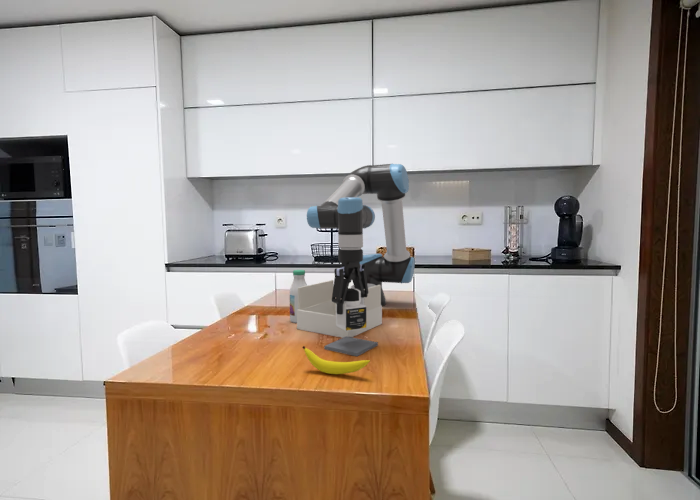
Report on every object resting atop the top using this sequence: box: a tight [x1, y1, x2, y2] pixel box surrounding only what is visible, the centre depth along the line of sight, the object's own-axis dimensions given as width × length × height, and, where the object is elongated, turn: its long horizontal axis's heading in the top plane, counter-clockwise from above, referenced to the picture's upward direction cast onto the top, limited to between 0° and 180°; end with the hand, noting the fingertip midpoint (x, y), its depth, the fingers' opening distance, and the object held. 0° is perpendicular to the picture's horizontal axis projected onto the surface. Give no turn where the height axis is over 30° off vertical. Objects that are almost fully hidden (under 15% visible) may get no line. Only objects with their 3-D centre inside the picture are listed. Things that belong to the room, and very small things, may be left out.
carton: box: [296, 279, 383, 339], centre depth 149 cm, size 23×23×15 cm
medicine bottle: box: [336, 287, 366, 331], centre depth 124 cm, size 7×7×12 cm
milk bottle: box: [289, 269, 308, 324], centre depth 157 cm, size 8×8×20 cm
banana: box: [302, 345, 371, 375], centre depth 103 cm, size 3×19×6 cm, turn 67°
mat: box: [323, 336, 379, 357], centre depth 125 cm, size 12×12×1 cm
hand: (351, 320), depth 124 cm, fingers closed on medicine bottle, 9 cm apart
